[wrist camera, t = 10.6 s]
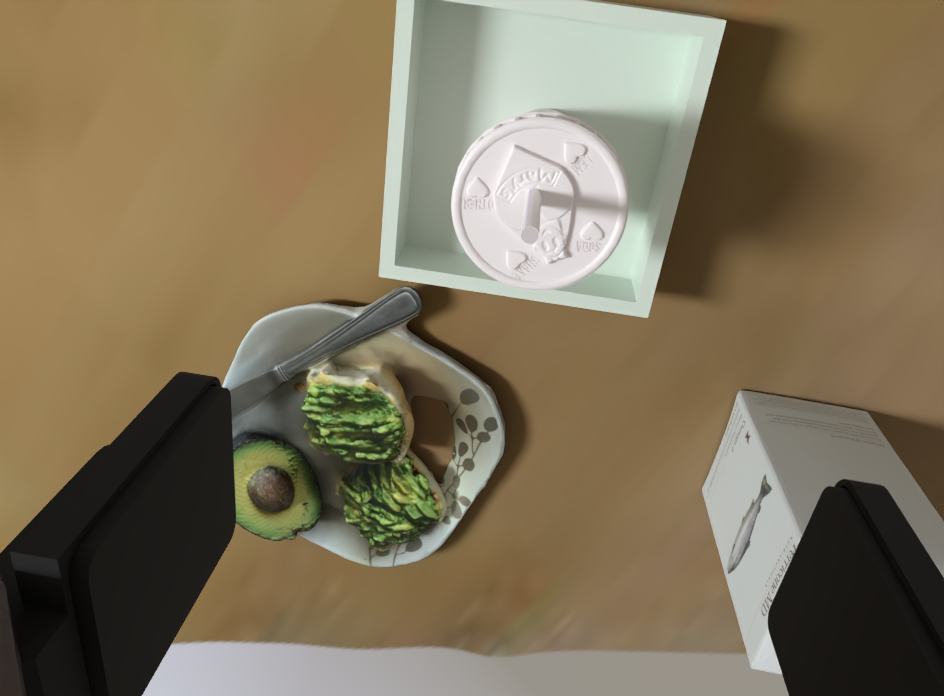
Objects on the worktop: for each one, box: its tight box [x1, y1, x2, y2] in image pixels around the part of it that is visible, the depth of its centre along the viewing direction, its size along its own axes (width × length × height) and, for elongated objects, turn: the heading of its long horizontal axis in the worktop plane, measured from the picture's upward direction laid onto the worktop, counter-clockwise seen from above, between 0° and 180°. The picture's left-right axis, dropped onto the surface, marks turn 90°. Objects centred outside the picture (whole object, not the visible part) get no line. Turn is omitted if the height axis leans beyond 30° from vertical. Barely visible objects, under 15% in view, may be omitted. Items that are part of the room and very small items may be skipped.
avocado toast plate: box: [222, 286, 505, 568], centre depth 41 cm, size 19×18×5 cm
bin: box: [379, 0, 727, 318], centre depth 33 cm, size 13×13×4 cm
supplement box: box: [702, 390, 944, 674], centre depth 35 cm, size 7×7×13 cm
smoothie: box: [451, 109, 629, 290], centre depth 28 cm, size 6×6×14 cm
